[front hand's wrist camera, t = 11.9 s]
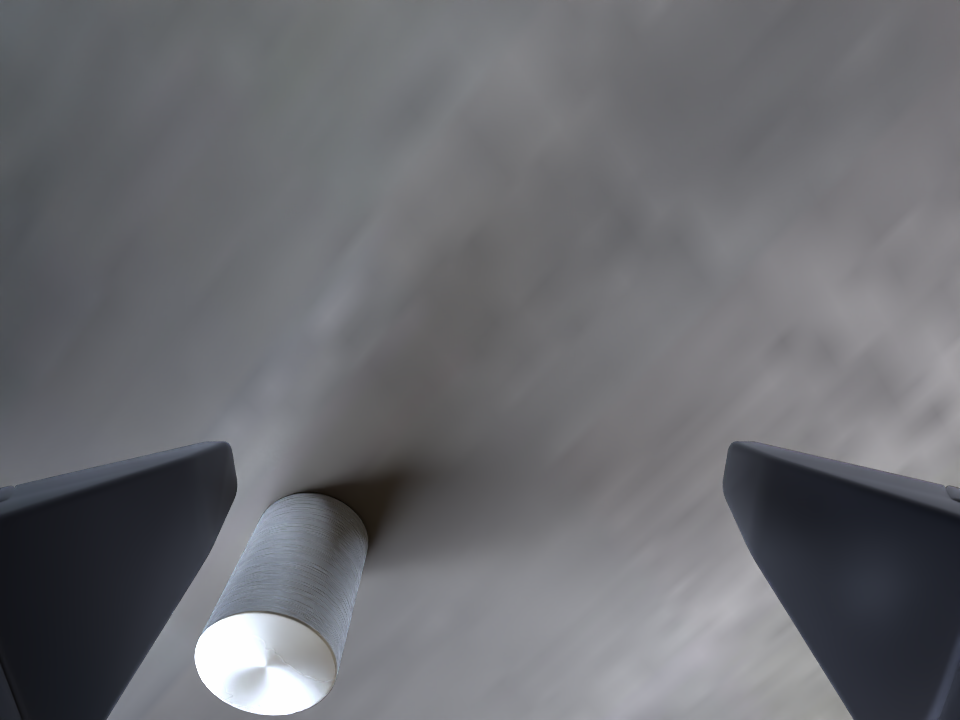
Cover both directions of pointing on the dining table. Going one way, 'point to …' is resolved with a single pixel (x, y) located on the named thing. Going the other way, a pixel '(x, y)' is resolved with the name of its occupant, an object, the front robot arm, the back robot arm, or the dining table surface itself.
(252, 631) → the can
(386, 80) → the dining table surface
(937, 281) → the dining table surface
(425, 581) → the dining table surface
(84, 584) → the front robot arm
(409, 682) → the dining table surface
